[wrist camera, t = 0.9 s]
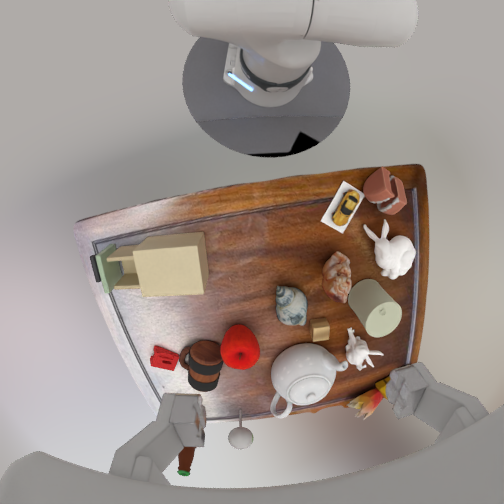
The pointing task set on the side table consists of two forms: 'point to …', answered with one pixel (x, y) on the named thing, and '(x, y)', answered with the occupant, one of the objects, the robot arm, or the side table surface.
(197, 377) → the mug
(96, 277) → the drawer
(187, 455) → the bottle
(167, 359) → the bracket
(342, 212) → the toy car
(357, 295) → the can
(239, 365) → the apple
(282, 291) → the seashell
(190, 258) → the cabinet
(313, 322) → the block
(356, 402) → the torch
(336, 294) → the figurine
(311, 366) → the teapot
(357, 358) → the rabbit figurine
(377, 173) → the dentures
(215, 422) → the side table surface
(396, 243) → the rabbit
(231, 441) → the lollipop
